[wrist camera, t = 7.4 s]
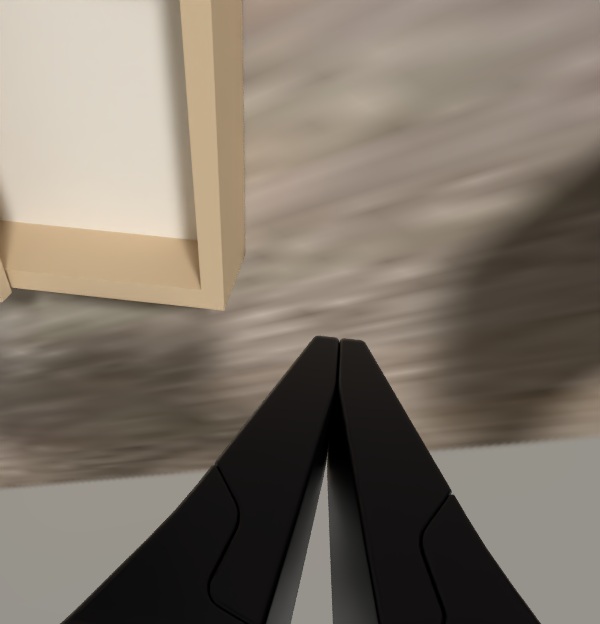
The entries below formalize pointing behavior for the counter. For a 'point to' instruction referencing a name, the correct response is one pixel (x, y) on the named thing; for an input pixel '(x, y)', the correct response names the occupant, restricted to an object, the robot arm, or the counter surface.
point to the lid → (3, 284)
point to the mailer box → (123, 148)
